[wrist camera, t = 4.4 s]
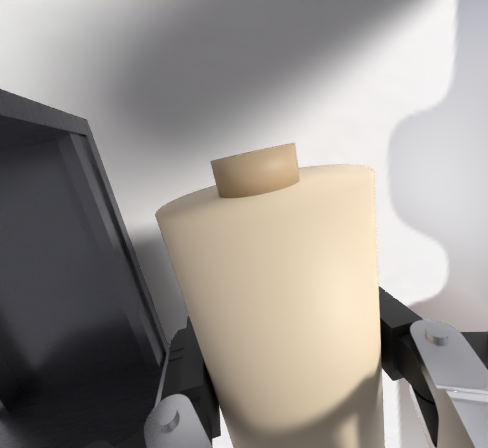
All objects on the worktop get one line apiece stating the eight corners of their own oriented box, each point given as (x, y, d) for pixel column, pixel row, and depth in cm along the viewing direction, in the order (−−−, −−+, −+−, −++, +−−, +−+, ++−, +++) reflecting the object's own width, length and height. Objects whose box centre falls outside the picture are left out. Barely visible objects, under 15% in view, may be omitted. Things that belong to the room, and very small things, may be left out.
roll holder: (-122, 158, 14) (-510, 153, 6) (86, 119, 15) (-37, 75, 7) (24, 396, 19) (-95, 546, 12) (171, 355, 20) (149, 469, 13)
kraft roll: (169, 168, 9) (91, 192, 4) (313, 137, 10) (452, 112, 4) (241, 410, 14) (257, 596, 8) (341, 385, 14) (427, 549, 8)
